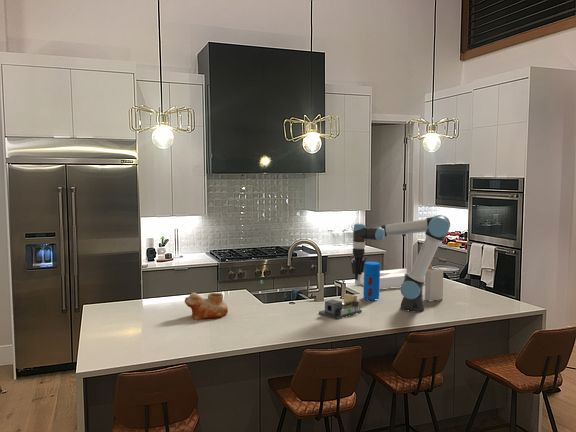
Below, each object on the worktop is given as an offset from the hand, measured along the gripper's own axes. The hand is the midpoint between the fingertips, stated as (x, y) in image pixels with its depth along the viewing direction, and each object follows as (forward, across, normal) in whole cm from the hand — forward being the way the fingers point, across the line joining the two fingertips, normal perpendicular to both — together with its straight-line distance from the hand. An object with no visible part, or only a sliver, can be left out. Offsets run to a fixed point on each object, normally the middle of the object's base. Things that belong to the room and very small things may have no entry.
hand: (357, 284), depth 337 cm
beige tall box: (+16, -59, +19) cm, 64 cm away
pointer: (+13, +10, +7) cm, 17 cm away
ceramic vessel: (+17, +83, -46) cm, 97 cm away
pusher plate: (+14, +13, +2) cm, 19 cm away
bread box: (+16, -73, -27) cm, 79 cm away
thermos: (+16, -27, -10) cm, 33 cm away
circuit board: (+16, +16, 0) cm, 22 cm away
